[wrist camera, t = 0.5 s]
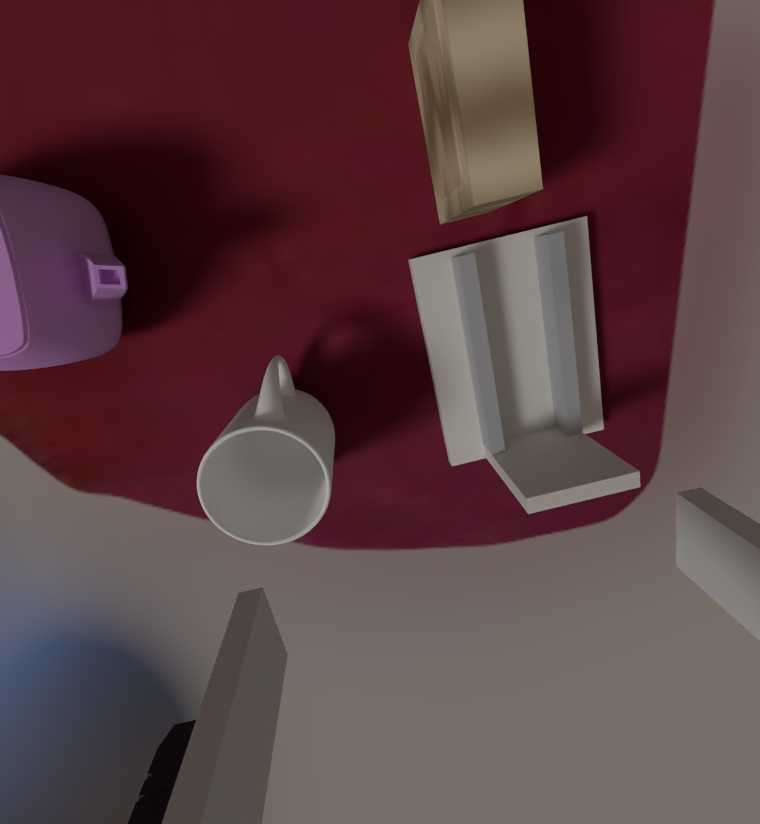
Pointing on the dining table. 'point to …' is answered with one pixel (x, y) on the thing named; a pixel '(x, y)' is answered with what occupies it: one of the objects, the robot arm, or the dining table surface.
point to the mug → (270, 464)
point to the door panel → (476, 104)
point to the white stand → (520, 362)
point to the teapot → (55, 277)
